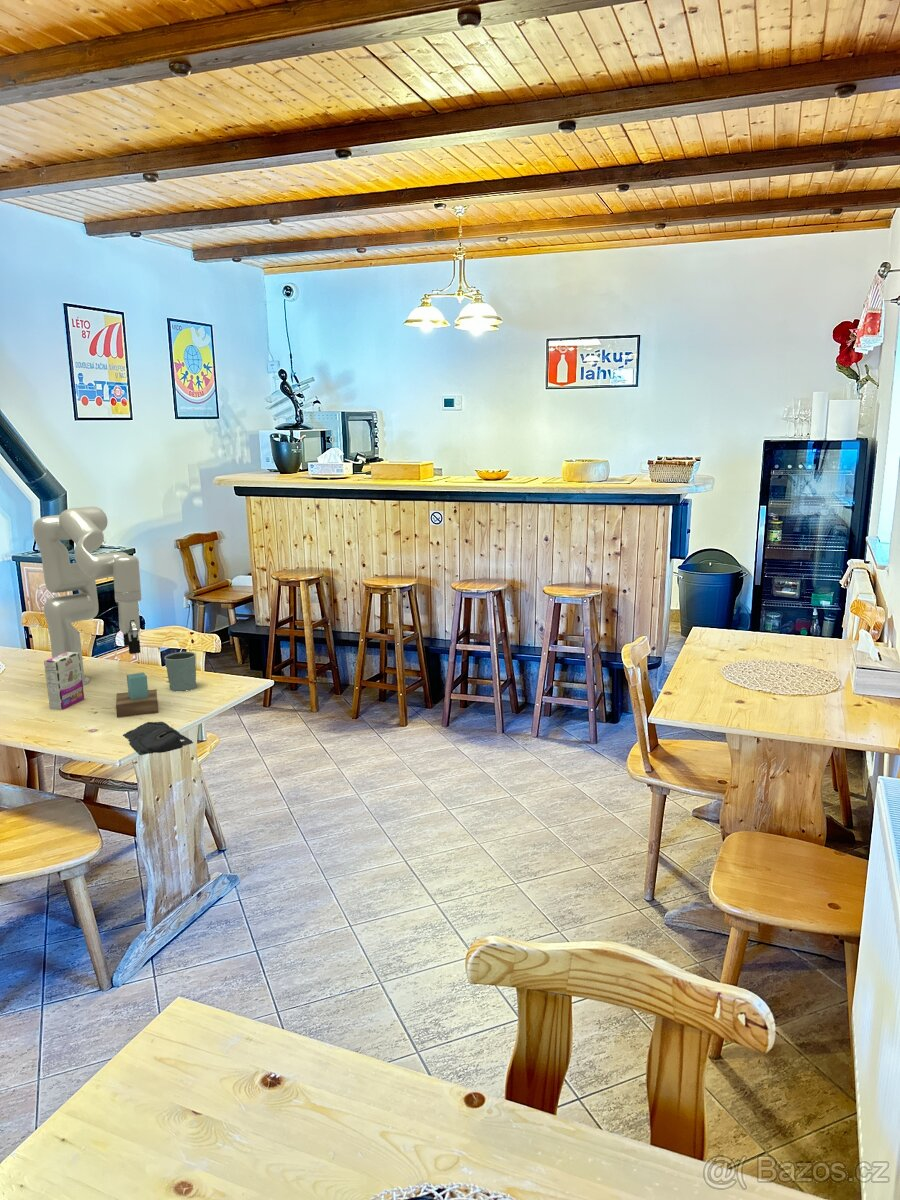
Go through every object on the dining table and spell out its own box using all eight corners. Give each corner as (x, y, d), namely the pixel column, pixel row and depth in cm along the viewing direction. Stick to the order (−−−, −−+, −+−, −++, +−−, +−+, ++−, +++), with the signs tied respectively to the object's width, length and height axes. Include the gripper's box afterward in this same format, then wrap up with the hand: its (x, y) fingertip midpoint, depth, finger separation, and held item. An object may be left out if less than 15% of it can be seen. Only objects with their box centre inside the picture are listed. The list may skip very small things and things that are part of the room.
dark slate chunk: (170, 726, 239) (169, 711, 238) (196, 748, 222) (195, 732, 221) (117, 738, 230) (116, 722, 229) (140, 762, 213) (139, 745, 212)
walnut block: (118, 708, 256) (116, 693, 255) (157, 703, 260) (156, 689, 259) (117, 720, 245) (115, 704, 244) (158, 715, 249) (157, 700, 248)
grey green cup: (201, 690, 272) (198, 656, 270) (170, 695, 267) (167, 660, 265) (193, 682, 281) (191, 650, 279) (164, 687, 276) (161, 654, 274)
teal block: (128, 696, 252) (126, 674, 251) (144, 693, 255) (143, 672, 254) (131, 700, 248) (129, 678, 247) (148, 697, 251) (146, 676, 249)
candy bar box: (71, 699, 264) (66, 651, 261) (85, 699, 263) (80, 652, 260) (48, 710, 253) (43, 660, 250) (62, 711, 252) (57, 661, 249)
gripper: (111, 592, 250) (115, 644, 254) (119, 602, 236) (123, 657, 239) (136, 589, 254) (140, 641, 258) (146, 600, 240) (149, 654, 243)
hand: (132, 649), depth 249 cm, fingers open, 9 cm apart
